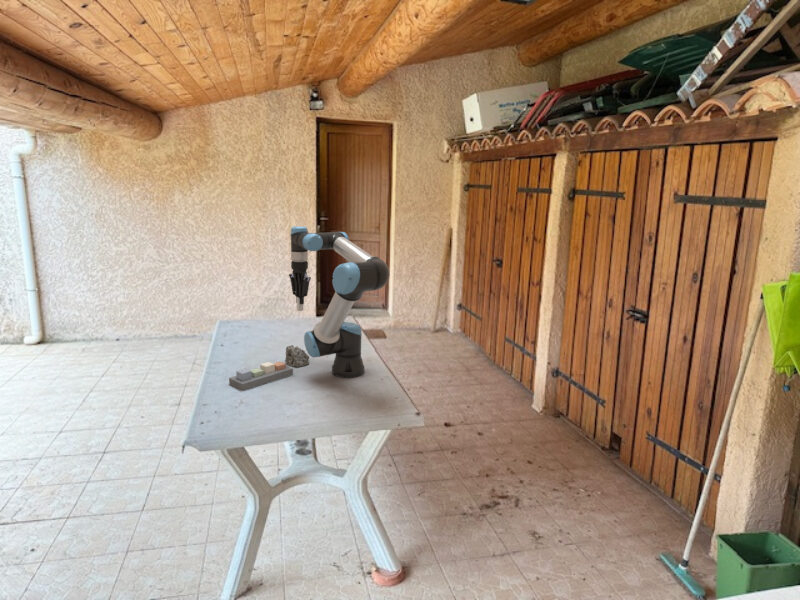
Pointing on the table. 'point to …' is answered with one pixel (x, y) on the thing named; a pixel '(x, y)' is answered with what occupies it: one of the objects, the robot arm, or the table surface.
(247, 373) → the key slate
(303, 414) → the table surface
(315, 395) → the table surface
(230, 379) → the grey socket tray
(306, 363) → the rock
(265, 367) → the key cream
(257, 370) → the key sage
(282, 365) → the key terracotta
